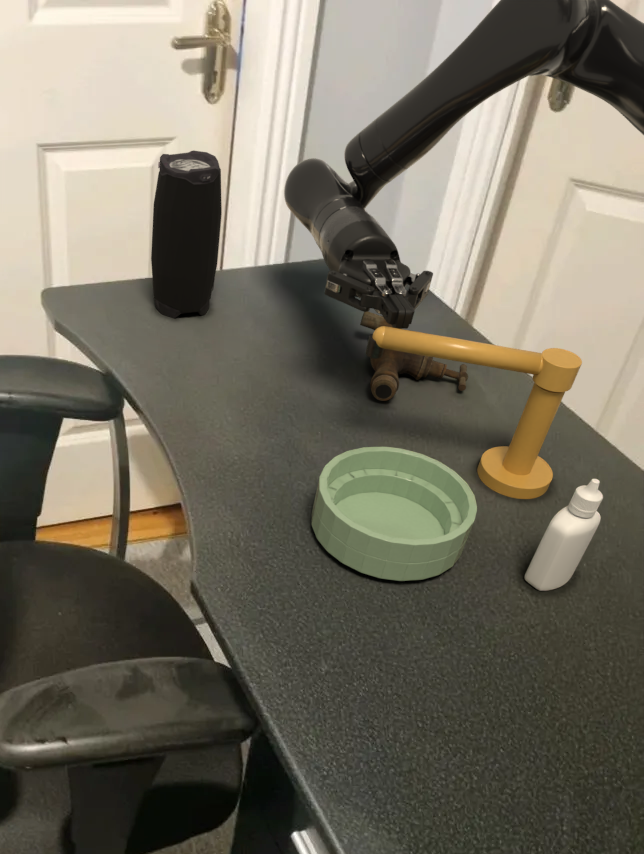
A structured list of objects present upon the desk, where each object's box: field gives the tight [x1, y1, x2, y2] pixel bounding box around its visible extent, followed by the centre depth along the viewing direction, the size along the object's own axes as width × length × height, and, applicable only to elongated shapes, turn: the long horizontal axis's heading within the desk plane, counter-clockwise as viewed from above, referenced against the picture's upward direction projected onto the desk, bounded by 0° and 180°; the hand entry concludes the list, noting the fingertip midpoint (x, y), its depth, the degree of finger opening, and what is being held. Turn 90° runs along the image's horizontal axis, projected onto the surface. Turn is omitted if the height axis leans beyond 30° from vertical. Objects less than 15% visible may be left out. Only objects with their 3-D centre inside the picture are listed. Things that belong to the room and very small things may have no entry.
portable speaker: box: [150, 149, 223, 319], centre depth 114 cm, size 9×9×20 cm
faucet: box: [359, 311, 469, 402], centre depth 110 cm, size 5×17×15 cm
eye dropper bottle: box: [523, 478, 604, 592], centre depth 81 cm, size 4×6×12 cm
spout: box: [365, 326, 583, 393], centre depth 88 cm, size 21×4×3 cm, turn 77°
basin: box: [311, 446, 478, 582], centre depth 86 cm, size 16×16×6 cm
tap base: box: [476, 382, 566, 500], centre depth 93 cm, size 8×8×12 cm
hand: (404, 320), depth 90 cm, fingers closed
